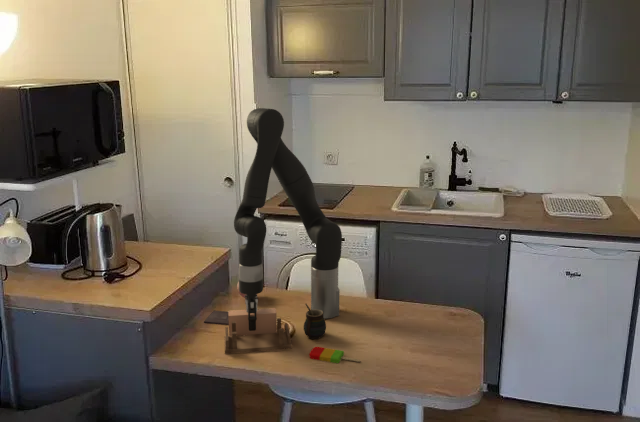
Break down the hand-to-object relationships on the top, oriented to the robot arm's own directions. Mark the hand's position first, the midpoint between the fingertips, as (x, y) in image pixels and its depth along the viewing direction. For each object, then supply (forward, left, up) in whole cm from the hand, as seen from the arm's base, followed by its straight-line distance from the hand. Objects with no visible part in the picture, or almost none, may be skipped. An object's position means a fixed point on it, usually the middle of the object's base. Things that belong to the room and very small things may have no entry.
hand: (251, 324), depth 190 cm
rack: (-1, +9, -2) cm, 10 cm away
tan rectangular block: (0, 0, -3) cm, 3 cm away
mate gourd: (-19, +6, -3) cm, 20 cm away
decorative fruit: (0, -26, -3) cm, 26 cm away
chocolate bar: (+5, -10, -3) cm, 12 cm away
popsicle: (-23, +21, -3) cm, 32 cm away
